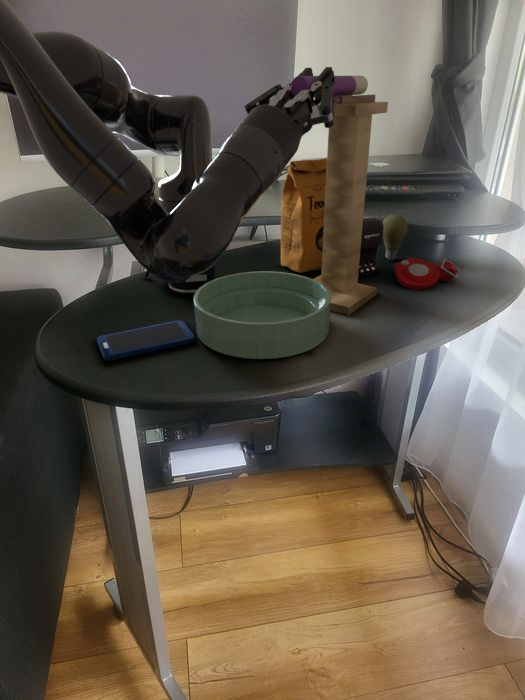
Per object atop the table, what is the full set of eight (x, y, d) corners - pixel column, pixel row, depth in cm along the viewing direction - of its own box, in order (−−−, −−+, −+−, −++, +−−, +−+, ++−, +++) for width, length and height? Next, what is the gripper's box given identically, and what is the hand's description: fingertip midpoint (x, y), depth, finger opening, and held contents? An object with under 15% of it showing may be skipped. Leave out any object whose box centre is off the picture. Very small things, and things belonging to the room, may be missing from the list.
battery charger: (353, 280, 96) (358, 223, 91) (342, 274, 99) (346, 218, 94) (381, 274, 99) (387, 218, 93) (370, 269, 102) (375, 214, 96)
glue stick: (306, 99, 63) (308, 76, 61) (289, 97, 64) (291, 75, 63) (366, 95, 75) (369, 76, 74) (351, 93, 76) (354, 75, 75)
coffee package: (348, 269, 102) (357, 159, 91) (297, 279, 97) (300, 163, 86) (323, 256, 110) (329, 153, 99) (275, 264, 105) (275, 157, 94)
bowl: (168, 336, 76) (164, 301, 73) (250, 294, 91) (249, 263, 88) (279, 377, 65) (279, 338, 62) (352, 321, 79) (355, 287, 77)
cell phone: (96, 340, 74) (95, 336, 74) (182, 323, 79) (182, 319, 79) (104, 362, 69) (103, 357, 68) (197, 341, 74) (196, 337, 73)
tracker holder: (416, 288, 89) (383, 261, 95) (413, 306, 92) (381, 278, 98) (467, 264, 92) (431, 239, 98) (463, 282, 95) (428, 257, 101)
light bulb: (384, 254, 110) (389, 210, 105) (407, 259, 107) (413, 213, 102) (373, 260, 107) (377, 215, 102) (396, 265, 103) (402, 219, 99)
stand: (289, 299, 88) (293, 96, 72) (320, 281, 96) (329, 94, 80) (348, 315, 82) (366, 96, 66) (376, 295, 89) (398, 94, 73)
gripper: (296, 128, 53) (363, 42, 59) (202, 124, 60) (271, 47, 67) (311, 184, 59) (371, 100, 65) (224, 174, 66) (285, 99, 72)
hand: (320, 74), depth 66 cm, fingers closed on glue stick, 2 cm apart
